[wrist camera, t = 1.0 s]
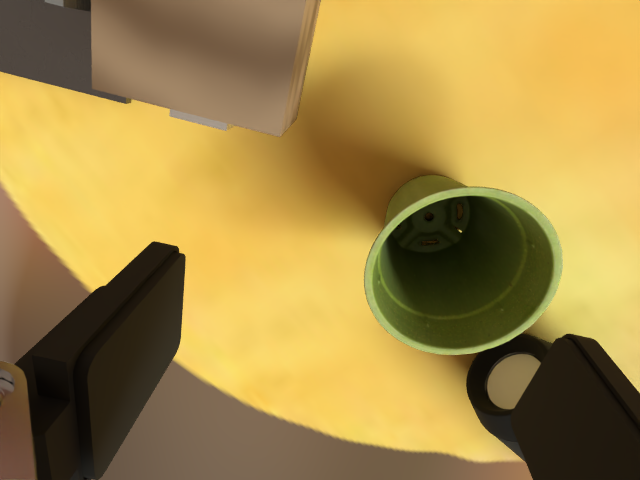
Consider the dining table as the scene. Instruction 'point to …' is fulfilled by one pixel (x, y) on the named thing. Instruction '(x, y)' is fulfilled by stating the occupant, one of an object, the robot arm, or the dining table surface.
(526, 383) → the portable speaker
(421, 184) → the plant pot
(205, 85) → the slotted wooden block
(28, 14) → the v-block
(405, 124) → the dining table surface
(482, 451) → the dining table surface
